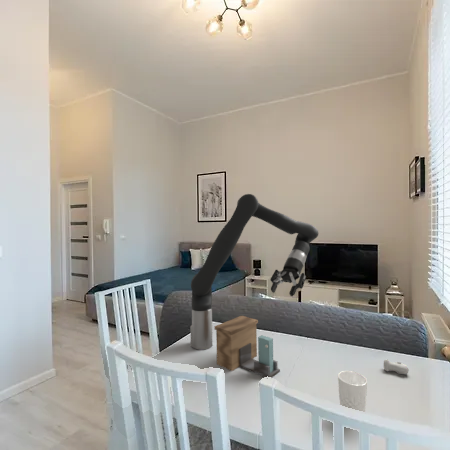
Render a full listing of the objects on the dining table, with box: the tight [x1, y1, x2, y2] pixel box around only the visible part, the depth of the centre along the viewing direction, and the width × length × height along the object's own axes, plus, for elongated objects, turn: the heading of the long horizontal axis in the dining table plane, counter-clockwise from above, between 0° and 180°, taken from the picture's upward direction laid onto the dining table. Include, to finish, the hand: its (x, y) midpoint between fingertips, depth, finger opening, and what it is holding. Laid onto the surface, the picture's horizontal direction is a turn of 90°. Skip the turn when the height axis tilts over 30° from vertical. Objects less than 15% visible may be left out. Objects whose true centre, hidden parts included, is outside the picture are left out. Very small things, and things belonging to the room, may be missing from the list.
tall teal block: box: [257, 334, 274, 373], centre depth 107 cm, size 5×3×12 cm
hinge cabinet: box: [214, 315, 281, 378], centre depth 112 cm, size 22×17×15 cm
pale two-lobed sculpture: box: [383, 358, 410, 375], centre depth 106 cm, size 4×8×5 cm
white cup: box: [337, 370, 368, 413], centre depth 84 cm, size 8×8×10 cm
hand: (281, 293), depth 116 cm, fingers open, 8 cm apart
